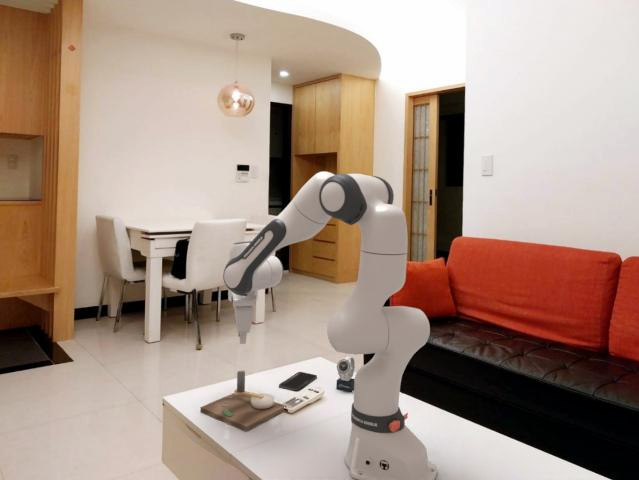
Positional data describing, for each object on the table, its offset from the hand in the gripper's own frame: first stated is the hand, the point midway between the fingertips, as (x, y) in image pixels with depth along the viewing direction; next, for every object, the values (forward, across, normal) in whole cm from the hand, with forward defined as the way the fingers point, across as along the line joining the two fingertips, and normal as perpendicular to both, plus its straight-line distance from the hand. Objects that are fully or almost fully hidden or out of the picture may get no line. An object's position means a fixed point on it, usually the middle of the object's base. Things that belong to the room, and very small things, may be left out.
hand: (242, 338), depth 150 cm
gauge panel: (+21, +6, +1) cm, 22 cm away
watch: (+21, -7, +36) cm, 42 cm away
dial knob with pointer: (+19, +3, +4) cm, 20 cm away
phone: (+22, -15, +20) cm, 33 cm away
